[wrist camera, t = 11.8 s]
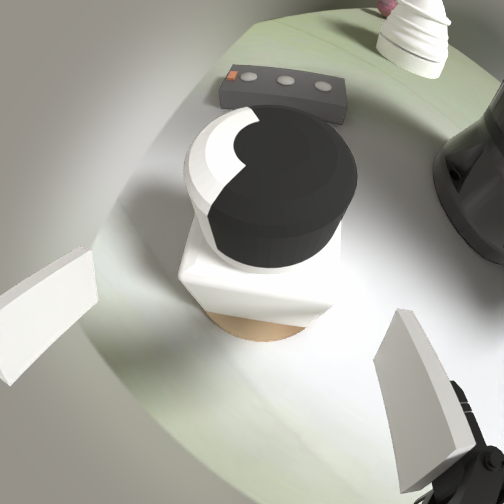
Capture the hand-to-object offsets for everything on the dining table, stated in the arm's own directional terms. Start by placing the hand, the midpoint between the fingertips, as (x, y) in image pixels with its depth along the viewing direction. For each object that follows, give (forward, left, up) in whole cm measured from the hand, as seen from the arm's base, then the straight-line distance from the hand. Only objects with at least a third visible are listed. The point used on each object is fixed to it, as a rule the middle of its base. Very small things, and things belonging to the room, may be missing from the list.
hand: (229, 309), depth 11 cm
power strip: (-19, -16, -8) cm, 26 cm away
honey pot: (-50, -15, -9) cm, 53 cm away
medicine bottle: (-4, -2, -8) cm, 9 cm away
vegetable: (-72, -32, -8) cm, 79 cm away
